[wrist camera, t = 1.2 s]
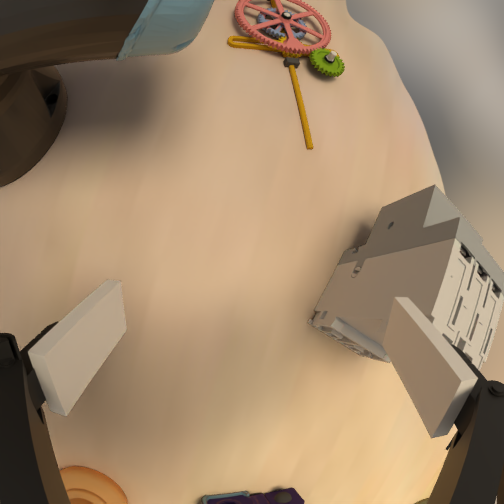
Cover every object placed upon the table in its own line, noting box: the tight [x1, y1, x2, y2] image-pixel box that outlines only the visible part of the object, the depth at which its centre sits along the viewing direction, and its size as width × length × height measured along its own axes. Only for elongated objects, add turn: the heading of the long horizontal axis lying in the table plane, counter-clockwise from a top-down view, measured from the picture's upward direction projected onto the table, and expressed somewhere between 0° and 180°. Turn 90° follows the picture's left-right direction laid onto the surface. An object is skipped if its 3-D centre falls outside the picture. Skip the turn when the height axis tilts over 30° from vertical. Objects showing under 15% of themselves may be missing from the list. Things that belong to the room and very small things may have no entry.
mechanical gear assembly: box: [227, 0, 345, 149], centre depth 32 cm, size 30×4×15 cm
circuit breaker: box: [307, 185, 504, 371], centre depth 24 cm, size 8×14×15 cm, turn 148°
